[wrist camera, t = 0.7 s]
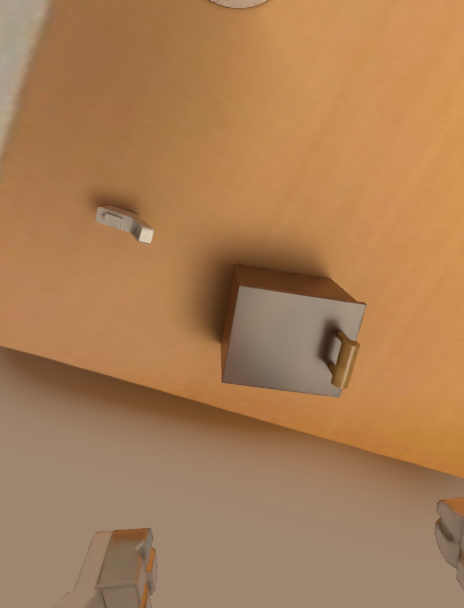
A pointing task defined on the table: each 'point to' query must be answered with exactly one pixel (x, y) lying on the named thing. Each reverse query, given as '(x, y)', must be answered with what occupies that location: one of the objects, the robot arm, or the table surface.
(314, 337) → the lid
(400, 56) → the table surface
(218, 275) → the table surface
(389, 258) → the table surface
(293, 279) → the chest
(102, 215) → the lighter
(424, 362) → the table surface
